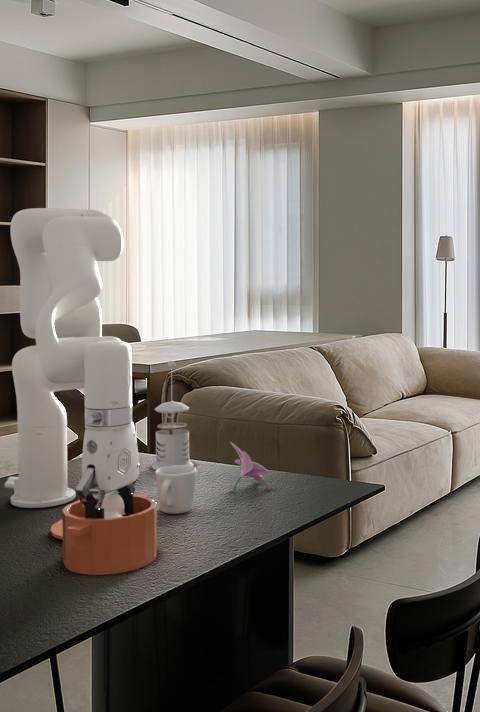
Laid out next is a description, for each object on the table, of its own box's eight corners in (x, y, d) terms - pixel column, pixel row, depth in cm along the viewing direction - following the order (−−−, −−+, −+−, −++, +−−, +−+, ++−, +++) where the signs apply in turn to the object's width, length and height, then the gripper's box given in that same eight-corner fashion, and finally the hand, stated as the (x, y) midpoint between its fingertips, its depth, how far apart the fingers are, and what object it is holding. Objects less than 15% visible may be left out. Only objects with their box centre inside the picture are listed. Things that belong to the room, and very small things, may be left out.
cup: (183, 522, 159) (182, 479, 159) (142, 520, 160) (142, 477, 160) (203, 506, 169) (202, 465, 169) (165, 504, 171) (164, 464, 171)
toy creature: (129, 526, 143) (129, 488, 143) (118, 541, 135) (117, 501, 135) (102, 526, 143) (101, 488, 143) (89, 541, 135) (88, 502, 135)
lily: (268, 503, 174) (284, 458, 177) (214, 482, 173) (232, 438, 177) (261, 506, 185) (276, 464, 189) (210, 486, 184) (227, 444, 188)
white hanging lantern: (153, 472, 197) (152, 364, 197) (149, 461, 209) (148, 358, 208) (196, 469, 200) (194, 362, 200) (189, 458, 211) (188, 357, 211)
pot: (33, 575, 132) (32, 520, 132) (107, 535, 151) (106, 487, 151) (114, 585, 127) (114, 528, 127) (180, 543, 146) (180, 494, 146)
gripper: (97, 428, 130) (98, 544, 130) (156, 409, 146) (157, 512, 146) (55, 425, 132) (57, 539, 132) (118, 407, 148) (119, 508, 149)
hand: (110, 524), depth 139 cm, fingers closed on toy creature, 7 cm apart
